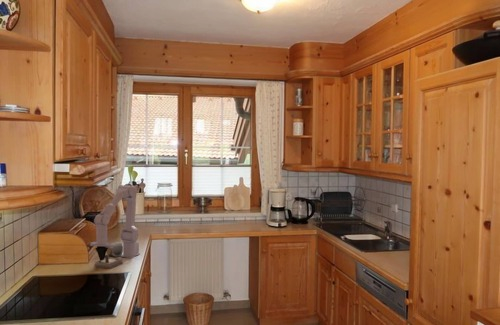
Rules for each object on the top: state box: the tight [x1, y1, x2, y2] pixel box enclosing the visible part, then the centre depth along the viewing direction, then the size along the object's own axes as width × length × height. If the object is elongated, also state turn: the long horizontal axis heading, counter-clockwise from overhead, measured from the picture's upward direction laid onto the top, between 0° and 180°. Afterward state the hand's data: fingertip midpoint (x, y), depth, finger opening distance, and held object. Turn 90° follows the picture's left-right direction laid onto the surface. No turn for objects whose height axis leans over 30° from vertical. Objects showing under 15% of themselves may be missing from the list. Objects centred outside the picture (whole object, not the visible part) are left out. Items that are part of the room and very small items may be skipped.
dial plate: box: [94, 256, 123, 270], centre depth 215 cm, size 10×11×3 cm
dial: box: [101, 254, 116, 263], centre depth 215 cm, size 8×8×5 cm
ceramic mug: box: [106, 241, 123, 258], centre depth 236 cm, size 11×8×8 cm
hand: (101, 259), depth 213 cm, fingers closed
